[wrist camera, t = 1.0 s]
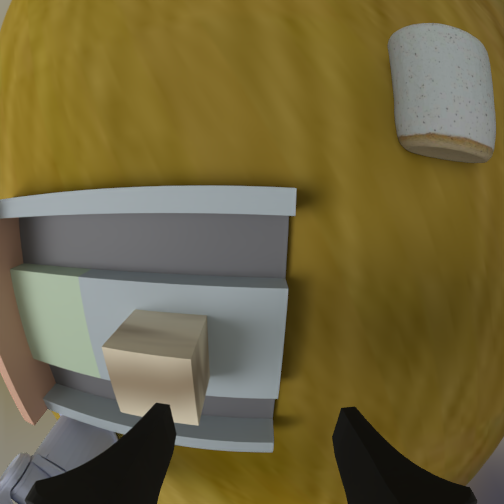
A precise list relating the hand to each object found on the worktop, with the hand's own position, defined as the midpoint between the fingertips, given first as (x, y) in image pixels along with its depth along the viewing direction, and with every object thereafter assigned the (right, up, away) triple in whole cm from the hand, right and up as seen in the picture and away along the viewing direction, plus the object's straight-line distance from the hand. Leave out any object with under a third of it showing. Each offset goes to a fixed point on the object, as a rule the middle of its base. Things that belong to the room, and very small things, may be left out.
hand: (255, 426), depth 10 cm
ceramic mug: (+14, +18, +6) cm, 24 cm away
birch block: (-6, +1, +8) cm, 10 cm away
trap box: (-10, +2, +11) cm, 15 cm away
